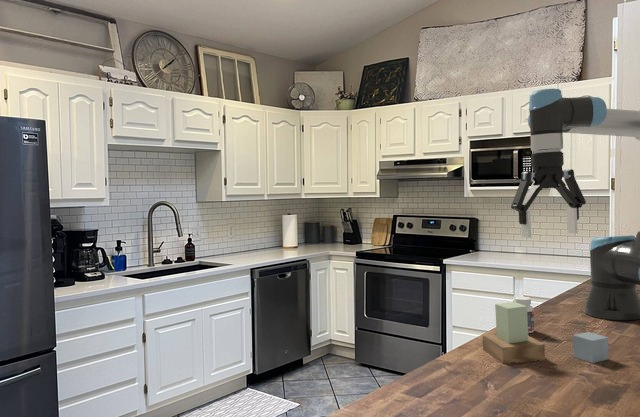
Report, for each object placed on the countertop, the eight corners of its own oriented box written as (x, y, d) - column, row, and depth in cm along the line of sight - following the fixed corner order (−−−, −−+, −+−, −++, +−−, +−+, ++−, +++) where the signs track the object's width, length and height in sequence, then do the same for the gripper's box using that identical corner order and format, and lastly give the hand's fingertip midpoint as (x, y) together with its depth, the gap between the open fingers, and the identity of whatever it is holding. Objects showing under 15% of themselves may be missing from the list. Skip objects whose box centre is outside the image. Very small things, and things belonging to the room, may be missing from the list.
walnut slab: (521, 348, 128) (521, 332, 128) (544, 361, 119) (544, 344, 118) (482, 351, 127) (482, 335, 127) (502, 365, 117) (502, 347, 117)
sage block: (515, 335, 126) (514, 301, 125) (528, 340, 121) (526, 306, 120) (496, 337, 125) (495, 304, 124) (508, 343, 120) (507, 308, 119)
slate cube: (588, 353, 122) (588, 332, 122) (608, 359, 118) (608, 337, 117) (573, 356, 120) (573, 335, 120) (592, 363, 116) (592, 340, 115)
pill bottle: (535, 334, 138) (535, 300, 138) (514, 333, 139) (514, 300, 139) (531, 328, 144) (531, 296, 143) (511, 328, 145) (511, 295, 144)
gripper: (578, 150, 140) (580, 230, 141) (494, 154, 134) (498, 237, 135) (599, 148, 133) (602, 232, 134) (512, 152, 127) (515, 240, 128)
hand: (549, 235), depth 135 cm, fingers open, 13 cm apart
